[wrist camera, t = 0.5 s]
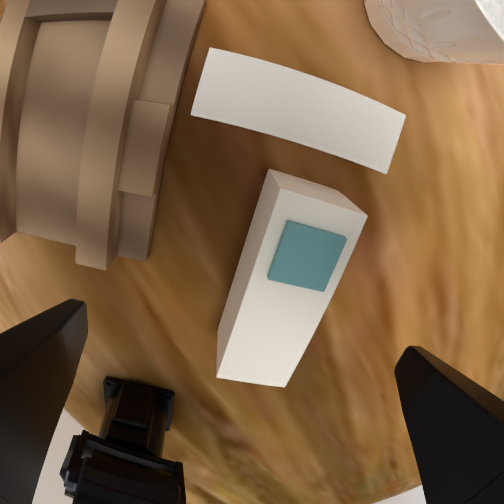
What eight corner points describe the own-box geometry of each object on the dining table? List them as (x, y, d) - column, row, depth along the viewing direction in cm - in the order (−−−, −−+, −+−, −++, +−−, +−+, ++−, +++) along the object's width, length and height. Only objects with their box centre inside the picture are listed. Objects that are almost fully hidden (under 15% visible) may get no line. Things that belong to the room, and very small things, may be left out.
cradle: (149, 254, 20) (138, 278, 17) (-14, 216, 18) (-37, 232, 15) (206, 3, 14) (201, -15, 11) (14, 4, 11) (-10, -3, 9)
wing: (378, 170, 19) (386, 174, 18) (192, 114, 17) (190, 115, 16) (397, 114, 18) (405, 115, 16) (211, 51, 16) (209, 47, 14)
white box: (275, 338, 24) (285, 391, 19) (217, 327, 23) (216, 381, 18) (336, 189, 19) (370, 218, 14) (268, 167, 18) (282, 190, 14)
